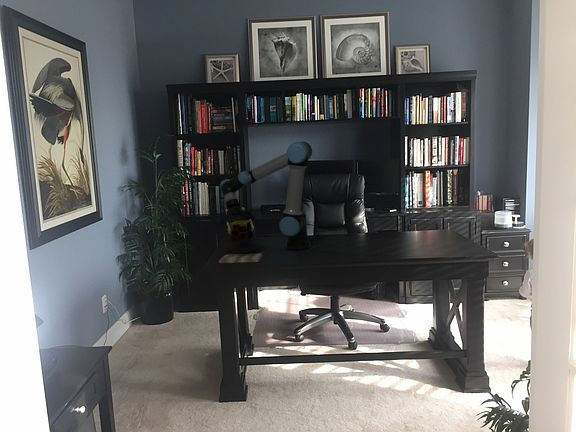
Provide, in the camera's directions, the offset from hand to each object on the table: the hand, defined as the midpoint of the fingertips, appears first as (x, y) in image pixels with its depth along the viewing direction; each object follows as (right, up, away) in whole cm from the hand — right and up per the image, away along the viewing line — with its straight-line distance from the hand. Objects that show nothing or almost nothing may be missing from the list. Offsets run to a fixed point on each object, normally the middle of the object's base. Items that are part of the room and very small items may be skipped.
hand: (241, 231), depth 279 cm
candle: (0, -5, 0) cm, 5 cm away
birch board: (-1, -16, +5) cm, 17 cm away
